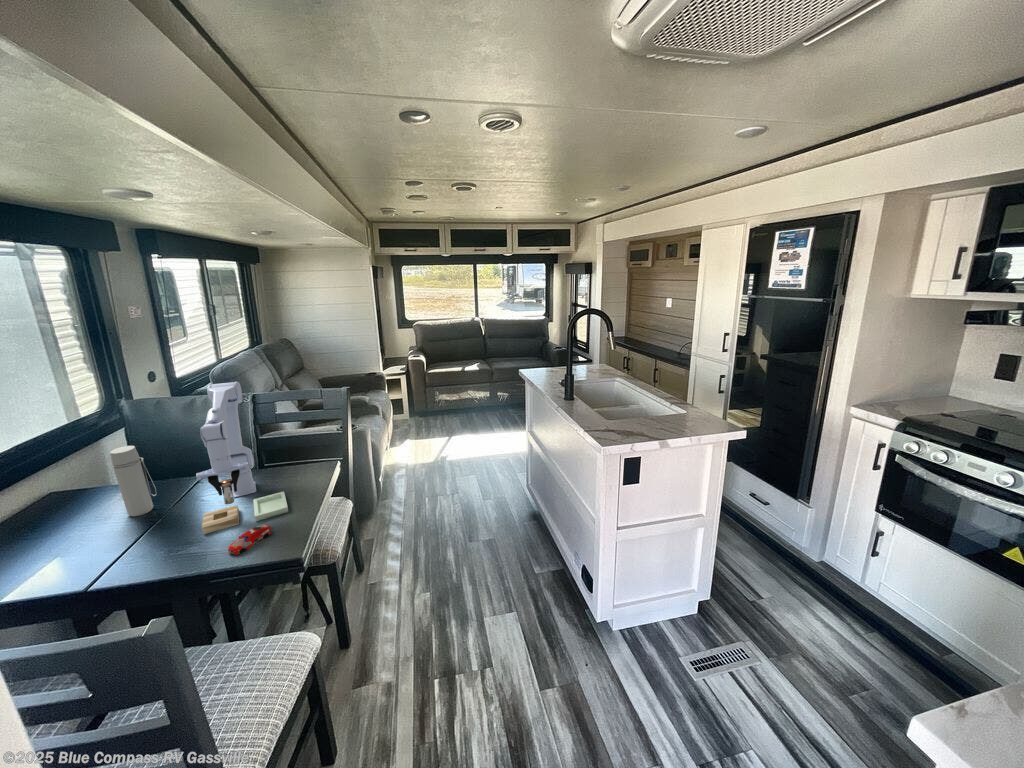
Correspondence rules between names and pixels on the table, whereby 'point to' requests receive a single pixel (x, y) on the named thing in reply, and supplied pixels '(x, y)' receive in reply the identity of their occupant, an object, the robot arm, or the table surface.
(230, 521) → the socket block
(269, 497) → the tray
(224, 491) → the pin
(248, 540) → the race car
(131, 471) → the water bottle
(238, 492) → the robot arm
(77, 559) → the table surface
